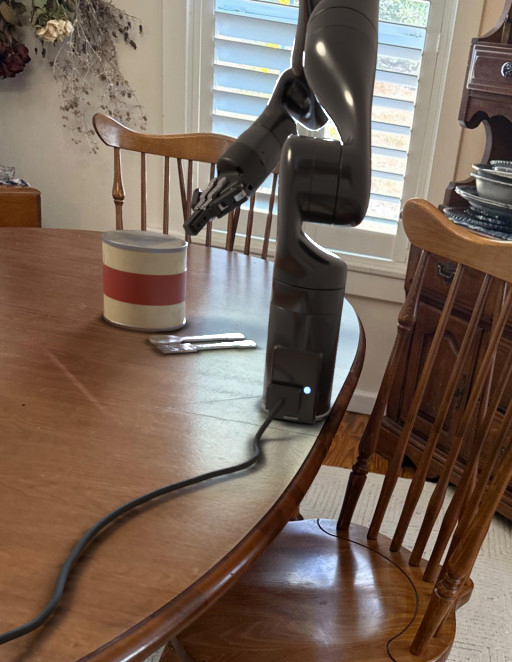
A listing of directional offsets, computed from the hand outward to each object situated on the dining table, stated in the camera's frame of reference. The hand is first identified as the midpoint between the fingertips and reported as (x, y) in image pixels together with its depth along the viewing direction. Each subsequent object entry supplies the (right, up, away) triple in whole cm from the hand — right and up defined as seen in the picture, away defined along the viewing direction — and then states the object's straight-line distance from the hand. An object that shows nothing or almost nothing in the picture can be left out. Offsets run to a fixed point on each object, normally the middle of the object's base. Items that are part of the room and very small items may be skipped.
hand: (188, 231), depth 124 cm
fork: (+4, -19, -3) cm, 20 cm away
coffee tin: (-9, -13, +5) cm, 16 cm away
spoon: (+1, -18, 0) cm, 18 cm away
